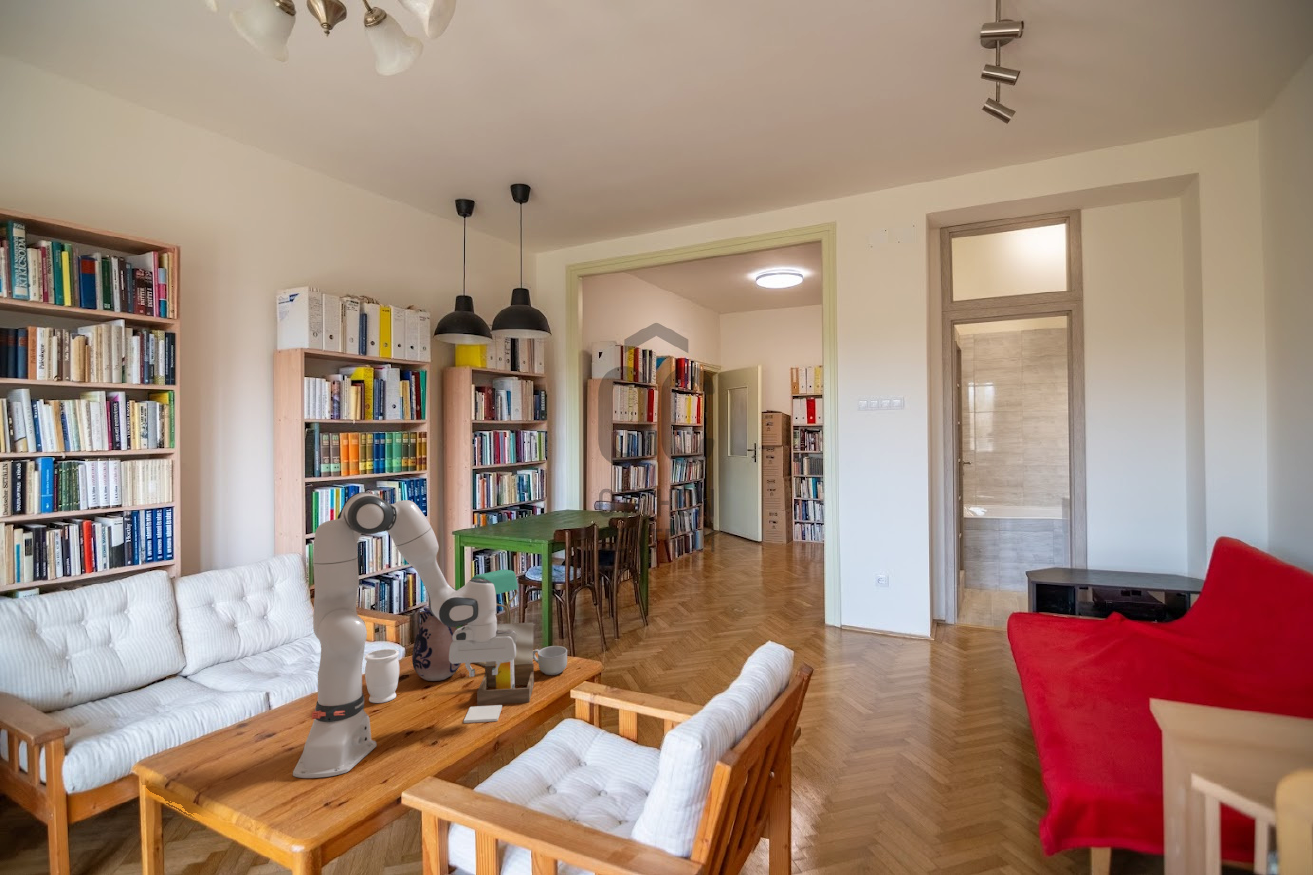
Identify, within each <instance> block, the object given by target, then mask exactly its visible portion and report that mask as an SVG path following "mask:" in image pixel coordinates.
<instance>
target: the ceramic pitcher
mask: <svg viewBox="0 0 1313 875" xmlns="http://www.w3.org/2000/svg"><path fill="white" fill-rule="evenodd" d="M422 609H423V610H421V611H419V612H418V614H419V626H418V628H417V633H416V636H415V638H414V639H415V640H414V644H413V647H412V653H411V661H412V666H413V669H414V672H415V673H416V674H417V675H418V676H419V677H420V678H422V679H423V680H425V681H429V682H436V681H437V682H438V681H439V682H440V681H445V680H447V679H448V678H450V677H451V676H453V675H454V674H455V673H456V672H457V671H458V670H459V668H460V666H462V663H456V664H452V663H451V662H450V661H449V650H450V645H451V643H452V642H453V639H452V636H453V633H454V632H455V631H456V630H457V629H458V628H457V627H448V626H446V625H444V624H443V623H442V622H441V621H440V620H439V619H438V618H436V617H434V616H433V615H432V613H431V612H430V609H429V605H428V606H425V607H423V608H422ZM466 625H468V623H467V624H464V625H461V627H463V626H466Z"/></svg>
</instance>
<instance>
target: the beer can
mask: <svg viewBox="0 0 1313 875" xmlns="http://www.w3.org/2000/svg"><path fill="white" fill-rule="evenodd" d="M495 666H497V664H496V661H495ZM515 686H516V685H515V682H514V659H513V660H505V661H501V663H500V665H499V667H498V674H497V675H496V686H495V689H513V688H516V687H515Z"/></svg>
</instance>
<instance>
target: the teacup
mask: <svg viewBox="0 0 1313 875" xmlns="http://www.w3.org/2000/svg"><path fill="white" fill-rule="evenodd" d="M536 654H537V656H536ZM533 661H534V662H536V663H537V664H538V668H539V670H540V671H541V673H543V674H545V675H546V676H556V675H559V674H562V672H563V671H564V670H565V669H566V668H567V666H568V649H567V648H566V647H564V646H562V645H561V646H560V645H551V646H546V647H543V648H541V649H533Z"/></svg>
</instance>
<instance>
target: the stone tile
mask: <svg viewBox="0 0 1313 875" xmlns="http://www.w3.org/2000/svg"><path fill="white" fill-rule="evenodd" d="M502 710H503V705H502V704H491V705H477V706H470V707H469V708H468V711H467V713H466V715H465V717H464V719H463V724H470V723H471V724H472V723H487V722H498V721H499V718H500V715H501V712H502Z"/></svg>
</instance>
